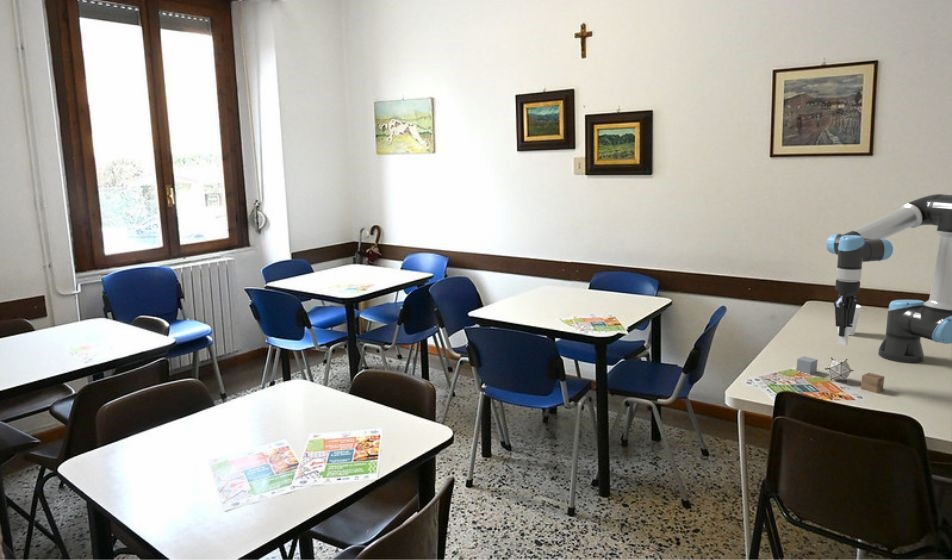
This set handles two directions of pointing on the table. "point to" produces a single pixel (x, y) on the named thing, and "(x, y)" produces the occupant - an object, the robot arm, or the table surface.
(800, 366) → the grey block
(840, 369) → the white icosahedron
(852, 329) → the foam cup
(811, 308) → the table surface
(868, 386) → the walnut block
